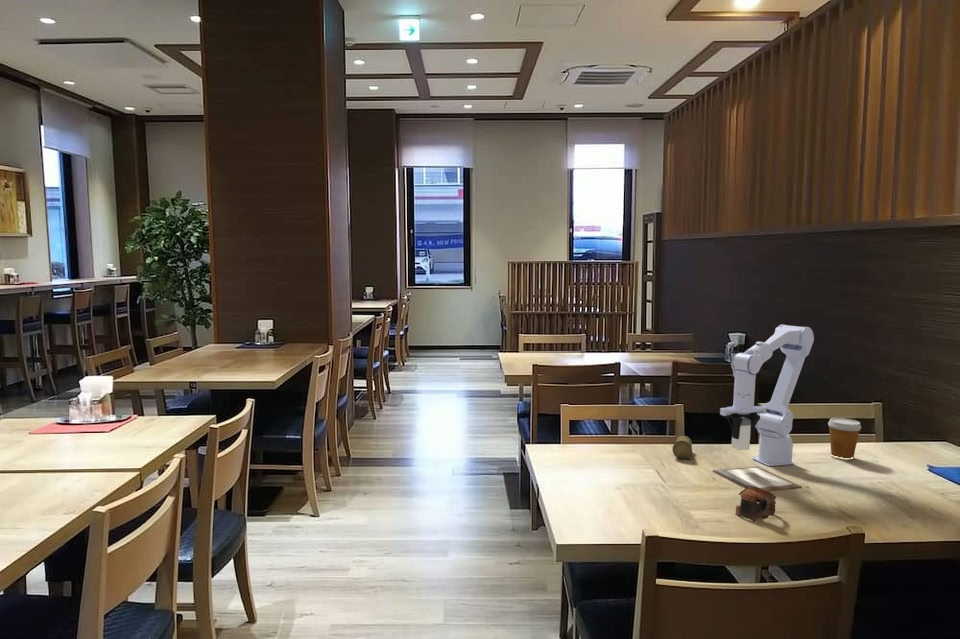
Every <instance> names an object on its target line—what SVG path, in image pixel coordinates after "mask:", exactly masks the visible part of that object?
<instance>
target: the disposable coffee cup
mask: <svg viewBox="0 0 960 639" xmlns="http://www.w3.org/2000/svg"><path fill="white" fill-rule="evenodd" d="M827 425H828V428H829V441H830V444H829V445H830V455H831V454H832V455H834V456H838V457H843V458H851V457H853V458H854V457H855V454H856V447H857V443H858V439H859V434H860V431H861V429H862V426H861V422H860V421H858V420H856V419H850V418H844V417H832V418H830V419H829V421H828V422H827Z"/></svg>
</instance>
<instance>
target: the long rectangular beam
mask: <svg viewBox="0 0 960 639" xmlns="http://www.w3.org/2000/svg"><path fill="white" fill-rule="evenodd" d="M741 418H743V420H742V422H741V426H740V433H739V439H735V438H732V437H731V448H733V449H735V450H737V451H745V450H746V451H747V450H750V445H751V443H750V442H751V441H750V440H751V438H750V428H751V420H750V419H747V418H744V417H743V416H741Z"/></svg>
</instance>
